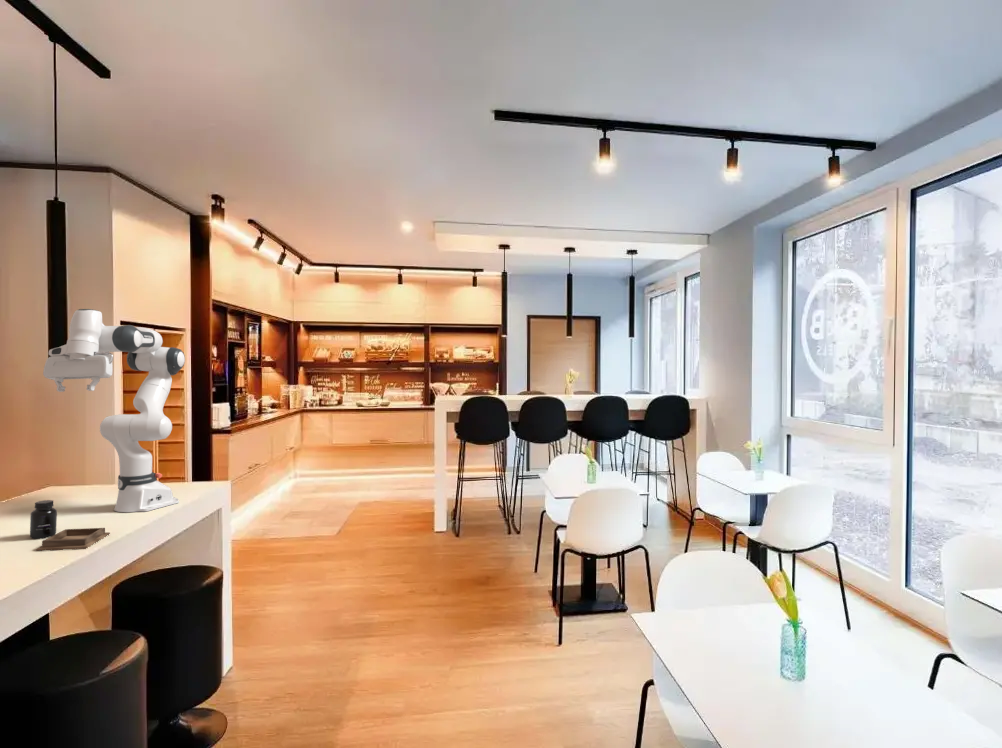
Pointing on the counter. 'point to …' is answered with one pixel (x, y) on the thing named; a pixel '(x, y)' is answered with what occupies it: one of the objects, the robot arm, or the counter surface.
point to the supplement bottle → (43, 520)
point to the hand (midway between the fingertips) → (75, 390)
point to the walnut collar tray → (73, 539)
